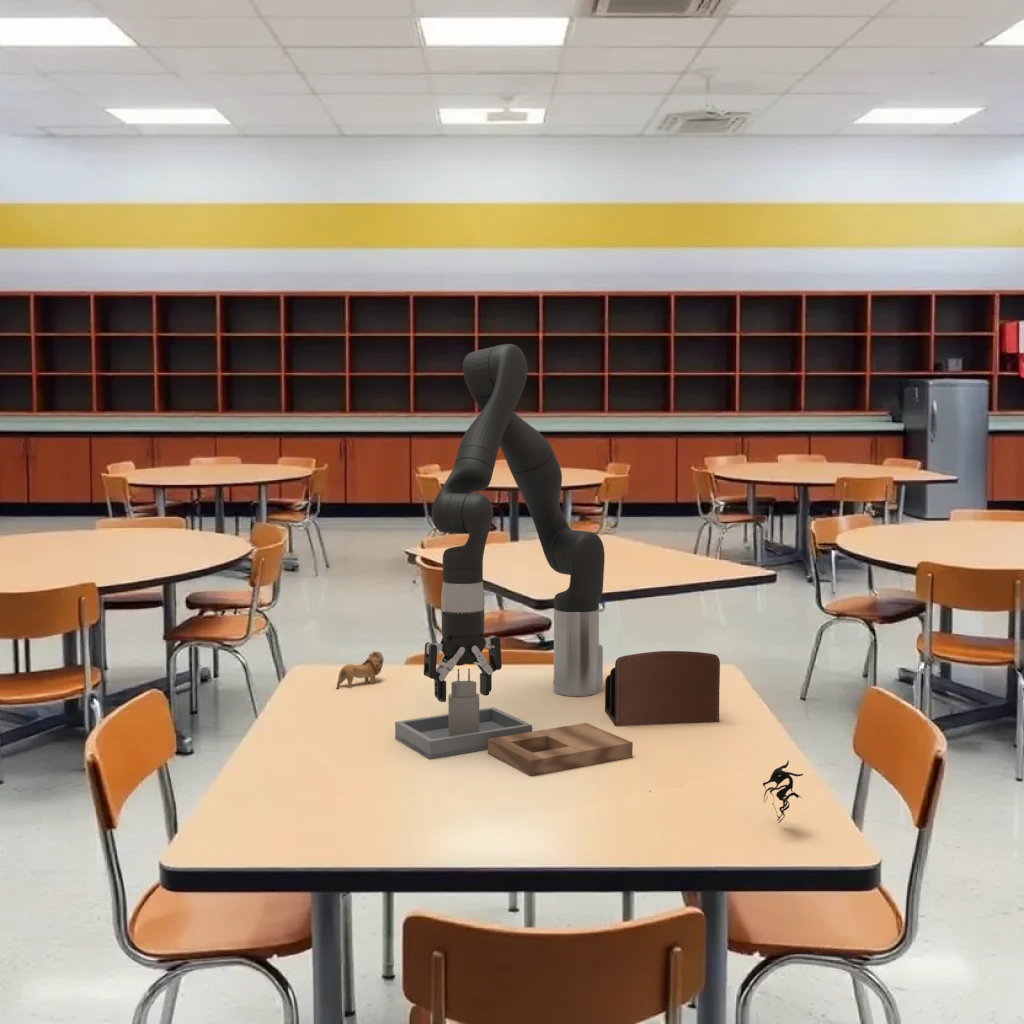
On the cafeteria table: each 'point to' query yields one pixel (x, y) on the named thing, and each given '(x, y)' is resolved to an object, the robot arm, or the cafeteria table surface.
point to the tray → (435, 741)
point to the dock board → (559, 748)
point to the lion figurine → (362, 670)
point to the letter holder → (663, 688)
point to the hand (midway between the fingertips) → (463, 697)
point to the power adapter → (463, 707)
